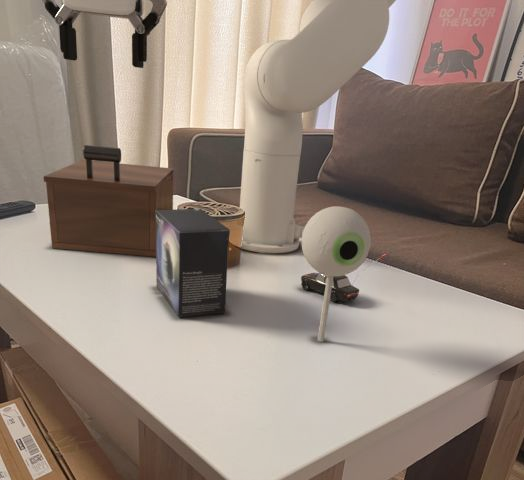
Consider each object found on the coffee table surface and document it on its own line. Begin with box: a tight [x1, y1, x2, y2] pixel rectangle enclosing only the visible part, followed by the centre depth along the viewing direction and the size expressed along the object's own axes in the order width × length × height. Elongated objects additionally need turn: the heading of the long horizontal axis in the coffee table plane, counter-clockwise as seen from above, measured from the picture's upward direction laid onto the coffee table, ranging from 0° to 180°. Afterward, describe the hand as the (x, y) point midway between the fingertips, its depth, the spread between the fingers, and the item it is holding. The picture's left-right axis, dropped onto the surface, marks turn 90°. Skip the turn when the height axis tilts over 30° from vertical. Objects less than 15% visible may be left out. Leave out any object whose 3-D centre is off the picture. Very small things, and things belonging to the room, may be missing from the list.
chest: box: [45, 173, 174, 258], centre depth 87 cm, size 18×16×10 cm
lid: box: [43, 144, 174, 192], centre depth 83 cm, size 19×16×5 cm
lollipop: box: [301, 205, 372, 343], centre depth 56 cm, size 7×7×15 cm
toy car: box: [300, 253, 387, 303], centre depth 71 cm, size 4×12×8 cm, turn 43°
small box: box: [155, 208, 231, 318], centre depth 64 cm, size 11×6×10 cm, turn 25°
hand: (104, 63), depth 74 cm, fingers open, 9 cm apart
